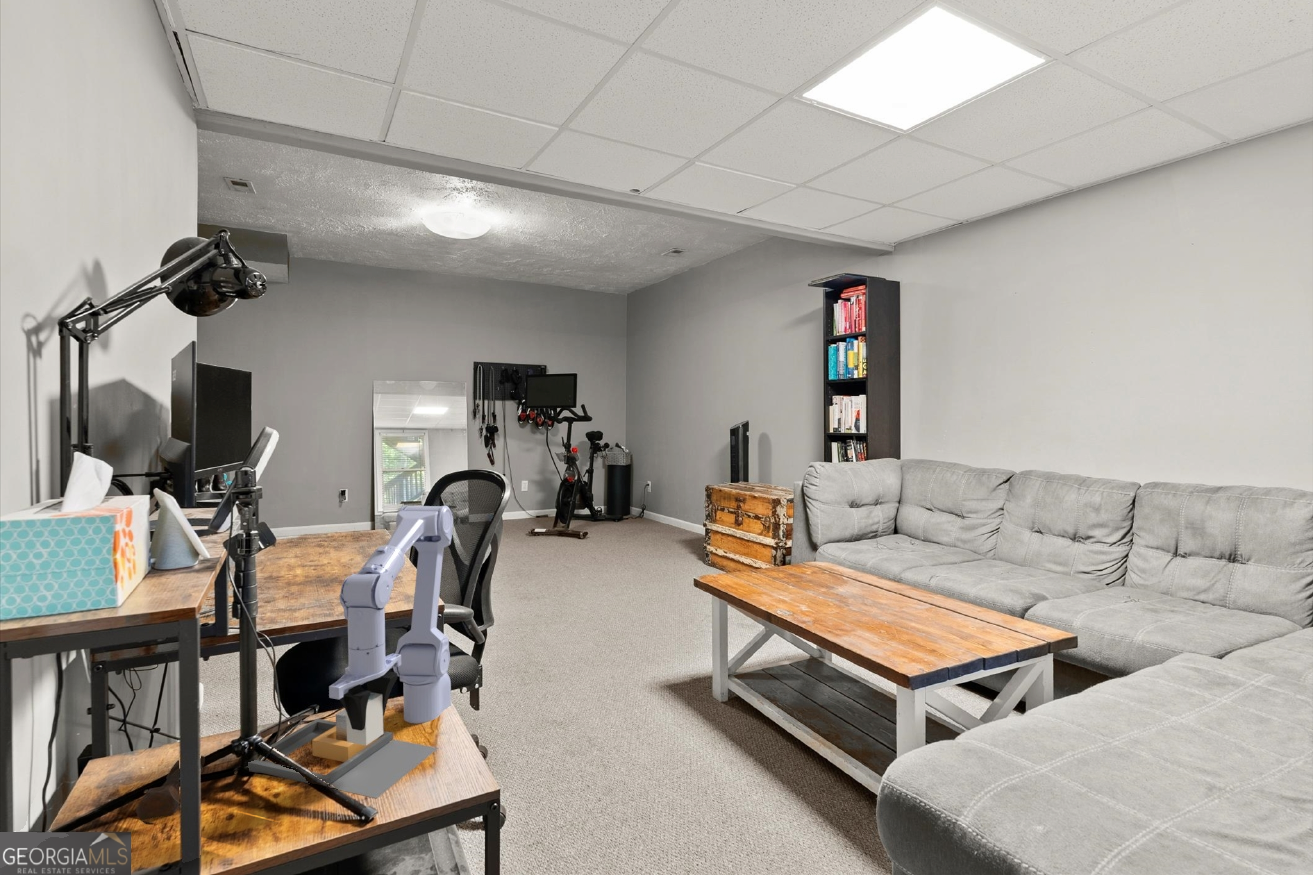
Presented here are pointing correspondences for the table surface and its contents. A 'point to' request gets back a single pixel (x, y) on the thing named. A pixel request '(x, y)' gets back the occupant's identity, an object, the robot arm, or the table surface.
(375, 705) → the block
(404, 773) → the lid
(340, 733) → the grey rectangular block
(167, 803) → the bolt
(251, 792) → the table surface
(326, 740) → the grey rimmed tray
